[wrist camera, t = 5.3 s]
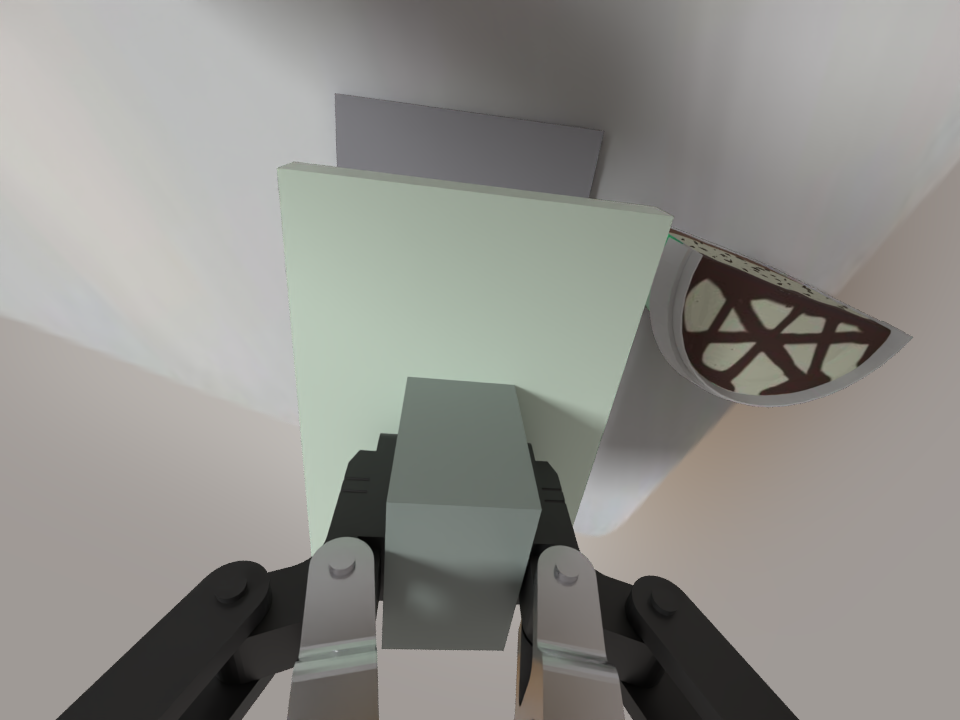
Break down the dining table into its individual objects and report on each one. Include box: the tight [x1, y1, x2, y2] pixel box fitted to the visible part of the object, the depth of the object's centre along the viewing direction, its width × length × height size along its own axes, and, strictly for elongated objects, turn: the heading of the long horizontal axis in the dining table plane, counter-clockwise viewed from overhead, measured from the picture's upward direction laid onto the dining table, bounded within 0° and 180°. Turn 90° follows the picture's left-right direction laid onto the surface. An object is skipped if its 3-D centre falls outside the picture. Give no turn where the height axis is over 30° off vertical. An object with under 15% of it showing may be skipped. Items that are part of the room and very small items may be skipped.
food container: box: [645, 226, 913, 407], centre depth 25 cm, size 12×6×10 cm, turn 70°
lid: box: [277, 162, 674, 651], centre depth 12 cm, size 9×15×6 cm, turn 173°
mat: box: [335, 93, 604, 198], centre depth 28 cm, size 14×18×1 cm
